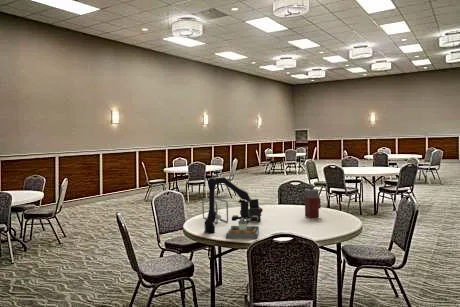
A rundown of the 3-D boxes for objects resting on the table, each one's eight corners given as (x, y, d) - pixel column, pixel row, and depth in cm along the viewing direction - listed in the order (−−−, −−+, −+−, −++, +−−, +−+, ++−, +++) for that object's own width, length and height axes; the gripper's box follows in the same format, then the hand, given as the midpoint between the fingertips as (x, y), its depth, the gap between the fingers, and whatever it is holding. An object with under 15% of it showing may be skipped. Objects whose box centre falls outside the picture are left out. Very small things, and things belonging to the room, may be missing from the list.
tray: (227, 237, 274) (227, 230, 274) (231, 231, 289) (231, 225, 289) (256, 237, 270) (256, 231, 270) (258, 232, 286) (258, 226, 285)
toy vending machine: (321, 217, 334) (321, 184, 333) (308, 218, 332) (308, 184, 331) (317, 215, 342) (316, 183, 341) (305, 216, 341) (304, 183, 340)
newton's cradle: (228, 222, 322) (227, 201, 321) (216, 224, 317) (216, 202, 317) (213, 216, 349) (213, 196, 348) (202, 218, 344) (201, 197, 344)
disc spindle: (237, 235, 275) (237, 222, 275) (240, 233, 281) (239, 220, 280) (245, 235, 273) (245, 222, 273) (248, 233, 279) (247, 220, 278)
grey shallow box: (226, 238, 273) (226, 233, 273) (229, 233, 286) (229, 229, 286) (257, 238, 269) (256, 234, 269) (259, 233, 282) (259, 229, 282)
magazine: (247, 217, 333) (253, 202, 328) (259, 226, 325) (264, 210, 320) (244, 218, 330) (250, 202, 325) (256, 227, 322) (262, 211, 317)
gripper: (258, 206, 294) (259, 227, 295) (233, 206, 298) (234, 226, 299) (257, 209, 283) (257, 231, 284) (231, 209, 287) (231, 230, 288)
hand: (245, 229), depth 289 cm, fingers closed, pressing on tray
